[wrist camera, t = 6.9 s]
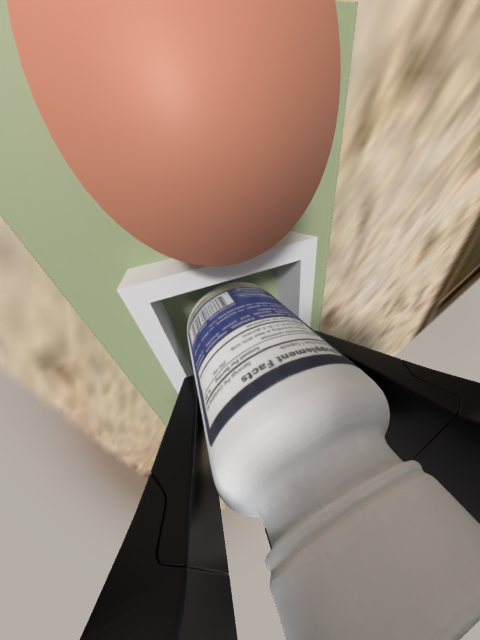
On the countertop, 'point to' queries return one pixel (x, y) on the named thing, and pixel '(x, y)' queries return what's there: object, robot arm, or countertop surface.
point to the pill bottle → (327, 480)
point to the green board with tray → (172, 159)
